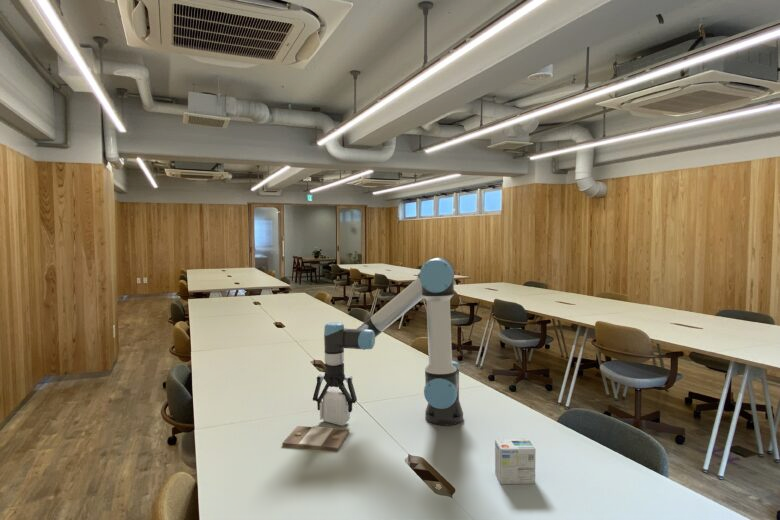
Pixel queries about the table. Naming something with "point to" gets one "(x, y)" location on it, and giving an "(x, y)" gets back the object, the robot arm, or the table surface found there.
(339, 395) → the photo printer
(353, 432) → the table surface
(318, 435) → the board
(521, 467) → the light bulb box
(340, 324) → the robot arm
